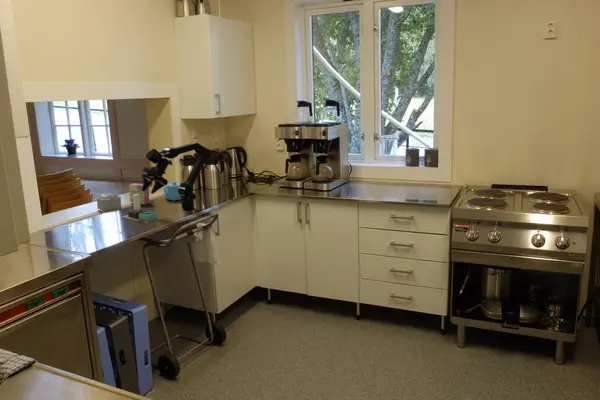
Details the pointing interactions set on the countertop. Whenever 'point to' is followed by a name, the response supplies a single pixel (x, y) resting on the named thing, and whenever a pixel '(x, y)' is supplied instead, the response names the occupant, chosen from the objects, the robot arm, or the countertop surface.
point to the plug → (136, 203)
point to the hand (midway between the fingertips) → (147, 192)
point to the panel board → (135, 216)
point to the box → (137, 189)
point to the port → (148, 216)
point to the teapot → (172, 191)
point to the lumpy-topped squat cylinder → (109, 202)
